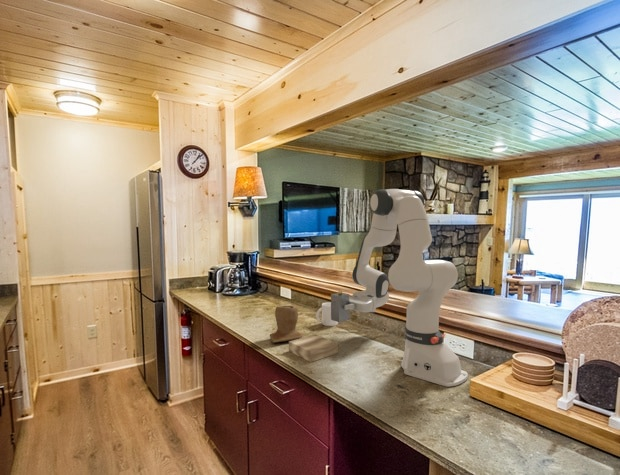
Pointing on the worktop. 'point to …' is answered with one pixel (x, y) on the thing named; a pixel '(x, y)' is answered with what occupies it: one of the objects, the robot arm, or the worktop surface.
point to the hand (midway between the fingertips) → (338, 306)
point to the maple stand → (313, 347)
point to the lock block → (339, 306)
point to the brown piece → (285, 324)
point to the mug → (326, 315)
